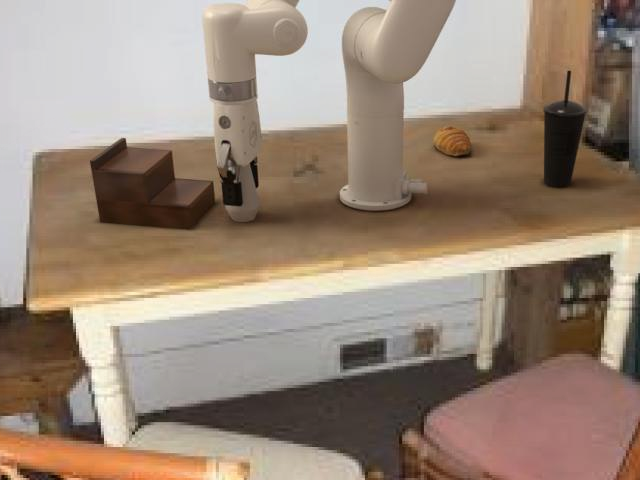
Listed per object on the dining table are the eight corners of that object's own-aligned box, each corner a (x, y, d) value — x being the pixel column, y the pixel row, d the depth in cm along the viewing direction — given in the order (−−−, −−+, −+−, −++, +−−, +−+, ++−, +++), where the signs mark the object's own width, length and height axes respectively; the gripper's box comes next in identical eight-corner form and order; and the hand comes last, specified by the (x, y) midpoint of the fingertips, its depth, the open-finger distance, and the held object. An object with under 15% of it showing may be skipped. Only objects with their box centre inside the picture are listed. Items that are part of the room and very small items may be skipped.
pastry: (479, 156, 183) (480, 137, 181) (447, 160, 181) (447, 141, 179) (460, 141, 190) (461, 123, 188) (429, 145, 188) (430, 127, 186)
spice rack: (215, 202, 163) (209, 143, 157) (190, 229, 153) (183, 167, 147) (130, 196, 165) (121, 137, 160) (99, 222, 156) (89, 160, 150)
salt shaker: (254, 225, 154) (248, 148, 147) (221, 223, 155) (214, 146, 148) (264, 212, 159) (259, 137, 152) (232, 210, 160) (226, 135, 153)
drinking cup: (583, 179, 171) (596, 68, 161) (572, 192, 166) (586, 78, 155) (542, 173, 174) (553, 63, 164) (530, 186, 168) (541, 74, 158)
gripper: (237, 105, 138) (246, 217, 147) (272, 76, 152) (278, 179, 161) (189, 103, 139) (201, 214, 148) (228, 73, 153) (237, 176, 163)
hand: (241, 195), depth 155 cm, fingers open, 7 cm apart
